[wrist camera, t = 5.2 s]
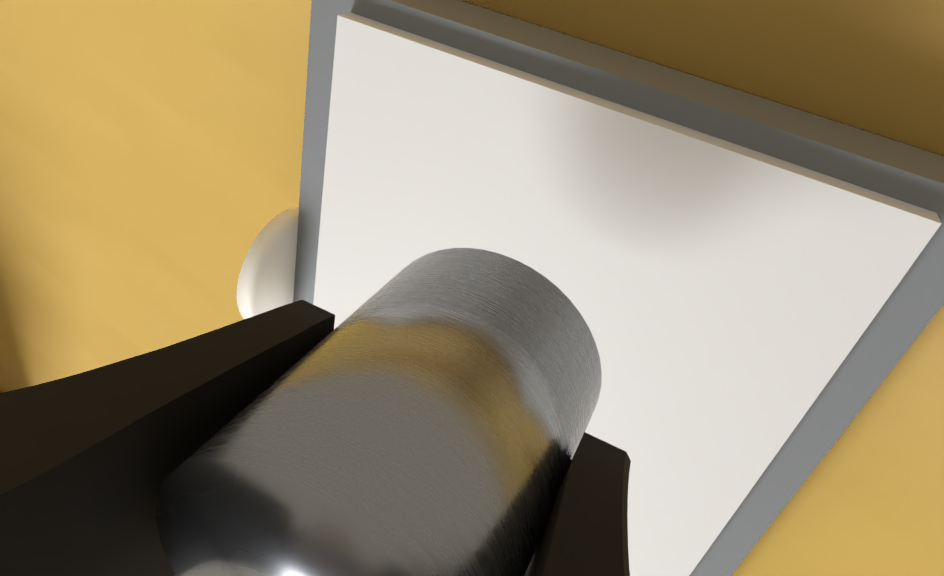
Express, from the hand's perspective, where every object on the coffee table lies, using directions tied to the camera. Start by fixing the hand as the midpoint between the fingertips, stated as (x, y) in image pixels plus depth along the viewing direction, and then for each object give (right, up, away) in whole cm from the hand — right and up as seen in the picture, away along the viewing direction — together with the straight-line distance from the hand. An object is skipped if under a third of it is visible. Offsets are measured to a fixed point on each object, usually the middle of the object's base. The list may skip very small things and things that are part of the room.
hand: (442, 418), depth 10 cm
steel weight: (+1, +1, +1) cm, 2 cm away
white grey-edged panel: (+2, 0, +9) cm, 9 cm away
